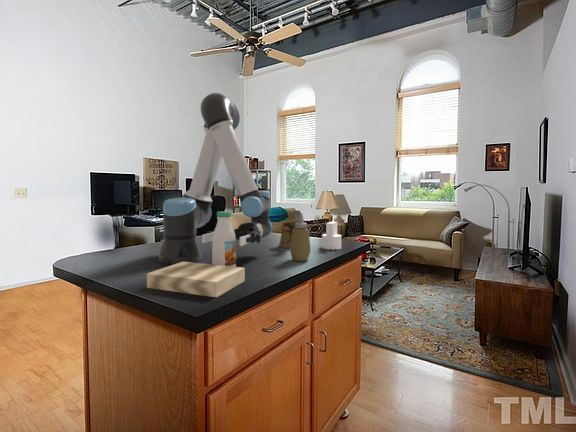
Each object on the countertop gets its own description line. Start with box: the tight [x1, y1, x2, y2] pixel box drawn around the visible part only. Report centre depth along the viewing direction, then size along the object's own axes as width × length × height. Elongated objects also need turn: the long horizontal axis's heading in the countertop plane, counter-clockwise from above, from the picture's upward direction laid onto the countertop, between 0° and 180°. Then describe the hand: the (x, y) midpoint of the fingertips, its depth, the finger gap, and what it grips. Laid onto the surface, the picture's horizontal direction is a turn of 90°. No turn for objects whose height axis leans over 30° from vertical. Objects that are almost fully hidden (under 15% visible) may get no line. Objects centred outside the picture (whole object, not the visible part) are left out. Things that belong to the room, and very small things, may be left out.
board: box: [146, 262, 246, 298], centre depth 96 cm, size 22×16×4 cm
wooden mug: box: [278, 210, 303, 249], centre depth 156 cm, size 9×14×18 cm, turn 27°
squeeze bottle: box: [289, 213, 311, 262], centre depth 129 cm, size 8×8×18 cm
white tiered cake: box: [321, 221, 342, 251], centre depth 157 cm, size 9×9×12 cm
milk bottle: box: [211, 211, 237, 267], centre depth 109 cm, size 8×8×20 cm
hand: (221, 240), depth 107 cm, fingers open, 13 cm apart
